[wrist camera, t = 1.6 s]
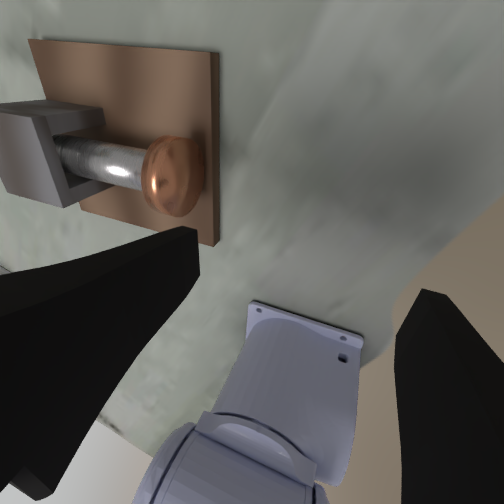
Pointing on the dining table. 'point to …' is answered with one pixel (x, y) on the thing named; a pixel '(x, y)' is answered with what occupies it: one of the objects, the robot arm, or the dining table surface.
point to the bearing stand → (113, 126)
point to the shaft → (140, 168)
